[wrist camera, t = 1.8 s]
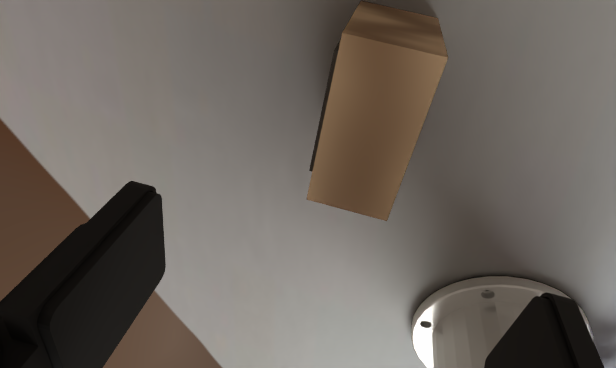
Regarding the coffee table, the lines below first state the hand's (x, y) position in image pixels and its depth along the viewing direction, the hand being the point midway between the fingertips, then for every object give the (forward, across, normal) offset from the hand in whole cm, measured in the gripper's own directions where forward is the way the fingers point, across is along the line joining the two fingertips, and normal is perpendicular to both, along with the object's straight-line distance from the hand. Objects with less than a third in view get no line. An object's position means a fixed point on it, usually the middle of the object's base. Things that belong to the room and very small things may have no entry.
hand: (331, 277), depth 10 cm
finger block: (+16, 0, 0) cm, 16 cm away
